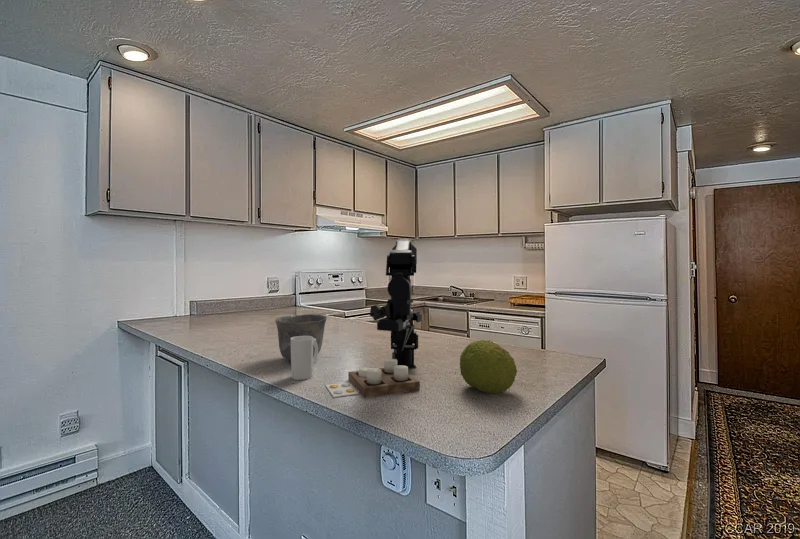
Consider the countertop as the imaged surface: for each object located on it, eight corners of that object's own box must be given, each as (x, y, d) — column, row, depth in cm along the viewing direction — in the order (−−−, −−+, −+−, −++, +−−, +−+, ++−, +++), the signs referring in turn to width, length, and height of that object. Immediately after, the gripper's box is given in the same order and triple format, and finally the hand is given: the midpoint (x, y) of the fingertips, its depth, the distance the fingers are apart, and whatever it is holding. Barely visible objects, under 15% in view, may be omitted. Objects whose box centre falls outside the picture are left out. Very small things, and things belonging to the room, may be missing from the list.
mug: (301, 381, 116) (301, 341, 115) (286, 377, 119) (285, 338, 119) (325, 373, 124) (325, 335, 124) (310, 369, 128) (310, 333, 127)
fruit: (526, 388, 110) (529, 348, 103) (492, 417, 103) (492, 376, 96) (482, 359, 122) (482, 320, 114) (449, 383, 115) (446, 344, 107)
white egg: (369, 377, 118) (369, 367, 118) (373, 381, 114) (373, 370, 114) (356, 379, 117) (356, 368, 116) (360, 383, 113) (360, 372, 113)
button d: (378, 378, 111) (378, 367, 111) (383, 383, 107) (383, 371, 107) (364, 380, 109) (364, 369, 109) (369, 384, 105) (369, 373, 105)
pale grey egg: (394, 368, 121) (394, 358, 121) (399, 371, 117) (399, 361, 117) (382, 369, 120) (382, 359, 119) (386, 373, 116) (386, 362, 116)
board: (397, 373, 124) (397, 366, 124) (419, 389, 109) (419, 381, 109) (348, 379, 118) (348, 371, 118) (364, 397, 103) (364, 388, 103)
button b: (404, 375, 114) (404, 364, 114) (410, 379, 110) (410, 368, 110) (391, 377, 112) (391, 366, 112) (396, 381, 108) (397, 369, 108)
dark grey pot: (289, 352, 151) (288, 313, 150) (333, 354, 148) (333, 314, 148) (267, 365, 133) (266, 321, 132) (317, 367, 131) (317, 322, 130)
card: (349, 383, 115) (349, 381, 115) (359, 394, 105) (359, 392, 105) (325, 386, 112) (325, 384, 112) (333, 397, 103) (333, 395, 103)
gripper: (388, 291, 122) (388, 341, 123) (359, 297, 105) (359, 355, 105) (422, 293, 118) (421, 344, 118) (397, 299, 101) (397, 360, 101)
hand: (400, 350), depth 111 cm, fingers closed
